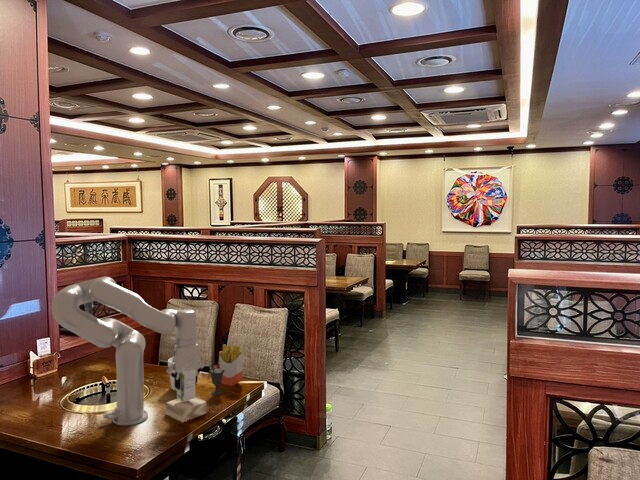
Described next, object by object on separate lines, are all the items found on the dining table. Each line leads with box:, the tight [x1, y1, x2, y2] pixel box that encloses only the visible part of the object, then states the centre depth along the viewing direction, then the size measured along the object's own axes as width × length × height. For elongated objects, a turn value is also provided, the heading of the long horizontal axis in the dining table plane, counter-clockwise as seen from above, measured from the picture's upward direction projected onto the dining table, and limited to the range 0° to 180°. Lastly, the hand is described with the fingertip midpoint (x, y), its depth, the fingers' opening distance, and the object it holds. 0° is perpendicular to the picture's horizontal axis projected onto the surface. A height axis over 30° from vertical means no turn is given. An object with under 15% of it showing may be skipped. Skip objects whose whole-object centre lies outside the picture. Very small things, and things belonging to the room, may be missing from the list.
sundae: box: [208, 360, 225, 396], centre depth 206 cm, size 7×7×15 cm
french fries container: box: [218, 343, 244, 387], centre depth 217 cm, size 5×11×18 cm, turn 63°
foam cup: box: [167, 357, 177, 391], centre depth 211 cm, size 10×9×13 cm
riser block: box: [165, 396, 207, 423], centre depth 185 cm, size 11×11×5 cm
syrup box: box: [176, 364, 196, 401], centre depth 184 cm, size 6×6×14 cm
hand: (186, 386), depth 184 cm, fingers open, 6 cm apart
